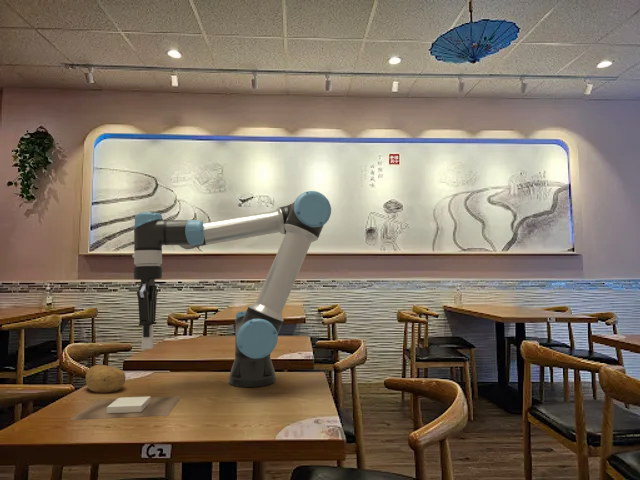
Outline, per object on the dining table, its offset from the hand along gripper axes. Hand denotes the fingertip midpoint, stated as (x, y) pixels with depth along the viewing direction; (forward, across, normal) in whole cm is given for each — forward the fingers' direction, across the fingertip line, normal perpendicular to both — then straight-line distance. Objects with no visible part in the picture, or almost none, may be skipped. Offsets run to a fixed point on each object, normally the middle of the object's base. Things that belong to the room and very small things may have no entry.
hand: (147, 348), depth 116 cm
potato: (+14, -8, -14) cm, 22 cm away
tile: (+12, +8, -1) cm, 14 cm away
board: (+14, +11, -1) cm, 18 cm away
